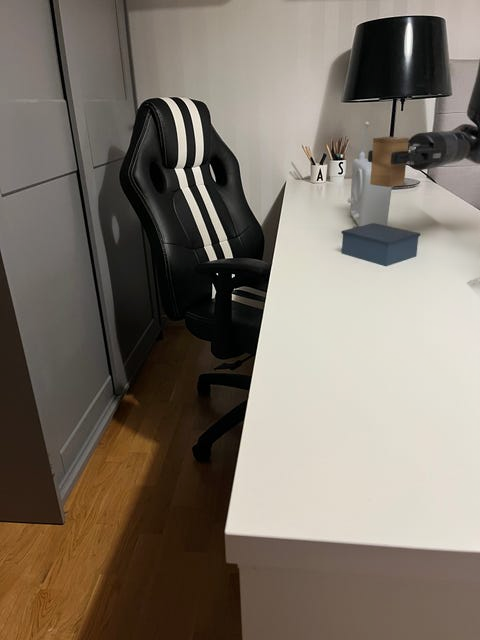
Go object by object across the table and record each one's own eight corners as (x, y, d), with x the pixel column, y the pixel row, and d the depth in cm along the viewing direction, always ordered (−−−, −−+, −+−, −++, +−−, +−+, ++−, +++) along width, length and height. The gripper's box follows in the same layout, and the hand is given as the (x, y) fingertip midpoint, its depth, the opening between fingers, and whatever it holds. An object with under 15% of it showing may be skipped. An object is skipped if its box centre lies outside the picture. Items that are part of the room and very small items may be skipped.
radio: (343, 213, 144) (348, 120, 134) (372, 213, 144) (380, 120, 133) (355, 233, 124) (362, 125, 114) (389, 232, 124) (399, 124, 114)
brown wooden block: (404, 184, 102) (409, 137, 98) (389, 187, 99) (394, 139, 96) (384, 181, 105) (387, 136, 102) (369, 184, 103) (373, 138, 99)
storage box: (417, 256, 106) (420, 233, 104) (386, 266, 100) (388, 242, 98) (371, 244, 115) (373, 222, 113) (340, 253, 110) (341, 230, 107)
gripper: (405, 130, 112) (354, 136, 102) (465, 132, 101) (414, 139, 92) (402, 165, 115) (351, 173, 105) (459, 171, 104) (409, 181, 95)
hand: (381, 157), depth 99 cm, fingers closed on brown wooden block, 5 cm apart
